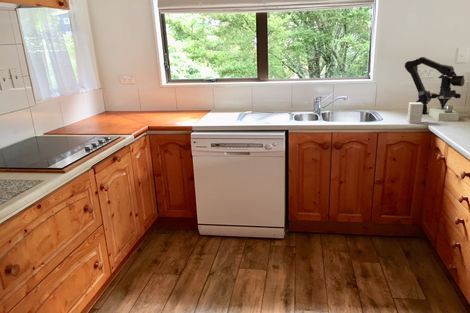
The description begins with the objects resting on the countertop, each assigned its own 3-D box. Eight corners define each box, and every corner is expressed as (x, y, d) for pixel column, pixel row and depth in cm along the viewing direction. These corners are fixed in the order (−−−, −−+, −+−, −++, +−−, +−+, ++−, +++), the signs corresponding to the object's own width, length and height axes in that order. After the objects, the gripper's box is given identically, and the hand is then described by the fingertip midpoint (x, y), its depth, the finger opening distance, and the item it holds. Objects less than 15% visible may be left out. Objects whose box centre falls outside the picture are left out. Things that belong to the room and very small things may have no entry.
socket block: (438, 120, 238) (439, 113, 237) (428, 114, 257) (429, 107, 256) (458, 120, 236) (459, 113, 235) (447, 114, 255) (448, 107, 253)
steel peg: (446, 113, 238) (447, 106, 237) (444, 112, 242) (445, 105, 240) (452, 113, 237) (454, 106, 236) (450, 112, 241) (451, 105, 240)
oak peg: (439, 115, 250) (440, 108, 249) (437, 114, 254) (438, 107, 253) (445, 115, 250) (446, 108, 248) (443, 114, 253) (444, 107, 252)
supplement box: (418, 121, 239) (421, 102, 235) (421, 123, 232) (423, 104, 229) (406, 121, 241) (408, 102, 237) (408, 123, 234) (410, 103, 231)
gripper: (434, 86, 240) (431, 110, 245) (465, 86, 236) (461, 110, 241) (429, 84, 250) (426, 107, 255) (459, 84, 247) (455, 107, 252)
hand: (442, 108), depth 250 cm, fingers closed, pressing on oak peg
